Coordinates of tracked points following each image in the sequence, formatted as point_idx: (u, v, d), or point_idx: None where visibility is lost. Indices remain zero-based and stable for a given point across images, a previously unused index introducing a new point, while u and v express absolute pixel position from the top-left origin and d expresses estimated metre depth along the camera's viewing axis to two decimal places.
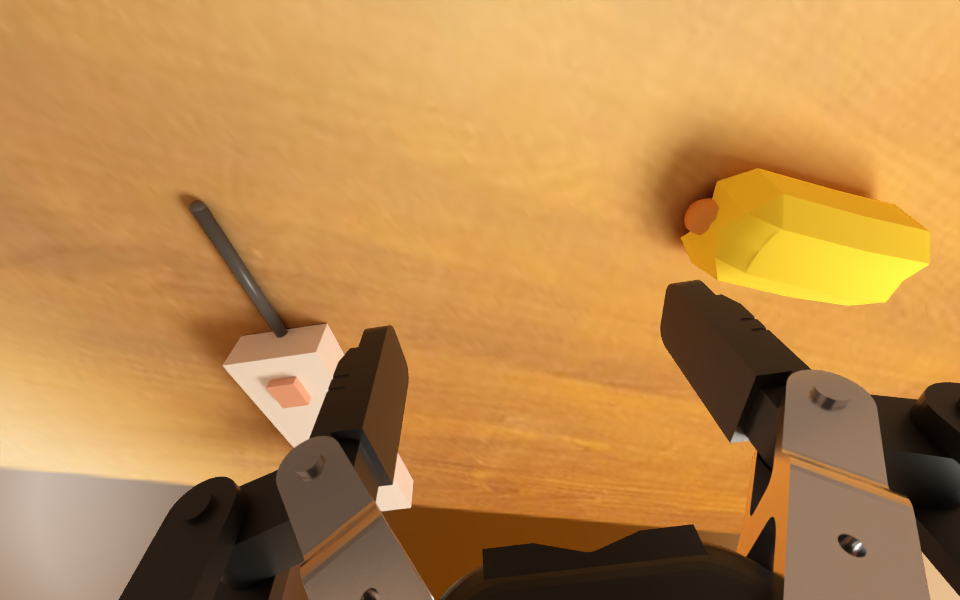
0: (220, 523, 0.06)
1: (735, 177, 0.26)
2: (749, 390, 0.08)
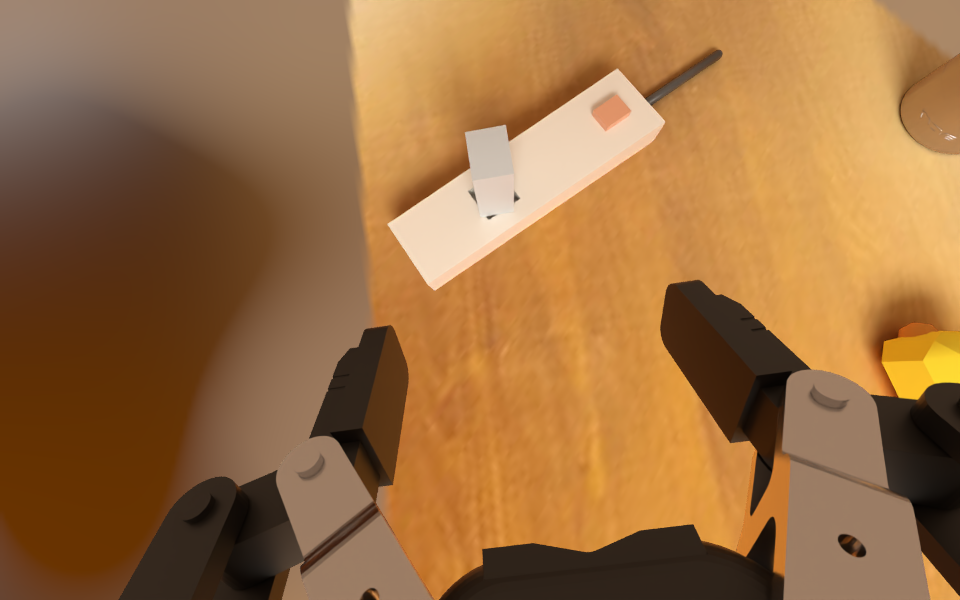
0: (220, 523, 0.06)
1: None
2: (749, 390, 0.08)
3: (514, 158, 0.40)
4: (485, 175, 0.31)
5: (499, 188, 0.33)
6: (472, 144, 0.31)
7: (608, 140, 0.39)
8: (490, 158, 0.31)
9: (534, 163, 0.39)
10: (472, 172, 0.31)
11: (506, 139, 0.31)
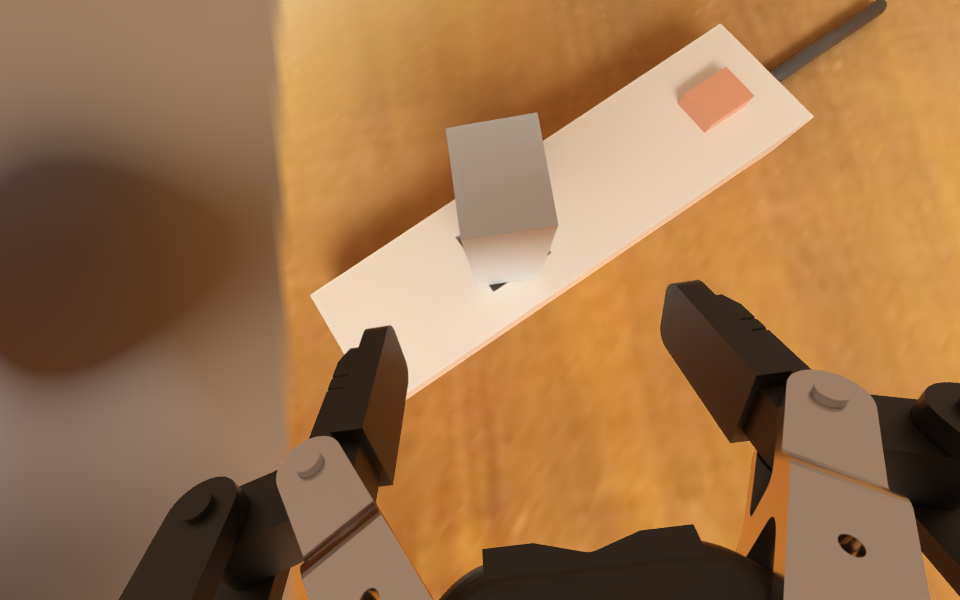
0: (220, 523, 0.06)
1: None
2: (749, 390, 0.08)
3: None
4: (490, 226, 0.13)
5: (520, 249, 0.15)
6: (463, 156, 0.14)
7: (710, 149, 0.22)
8: (504, 187, 0.14)
9: (576, 188, 0.22)
10: (461, 220, 0.13)
11: (539, 145, 0.14)
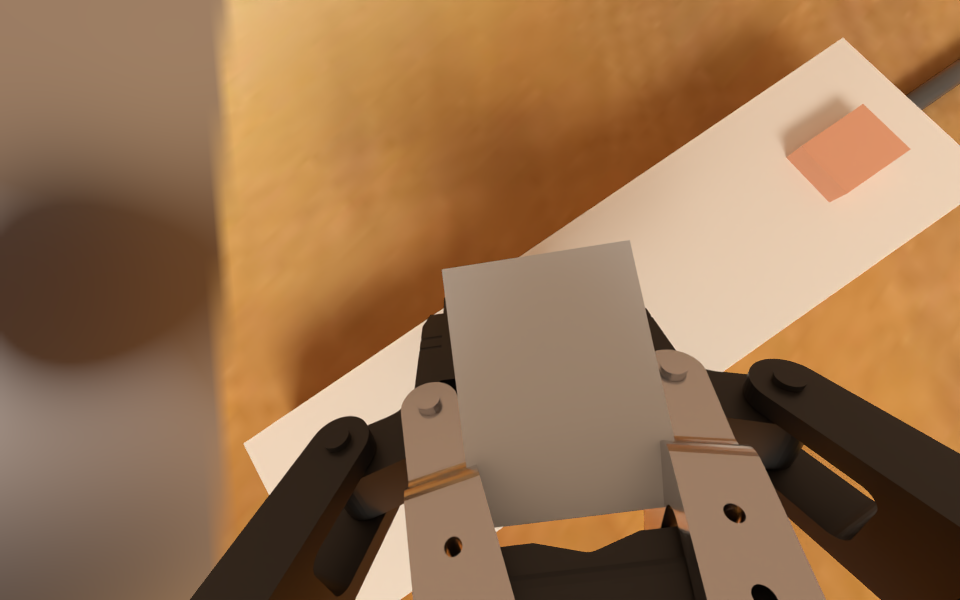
0: (361, 452, 0.07)
1: None
2: None
3: None
4: (538, 500, 0.06)
5: None
6: (477, 333, 0.07)
7: (839, 227, 0.14)
8: (565, 407, 0.06)
9: None
10: None
11: (637, 312, 0.07)
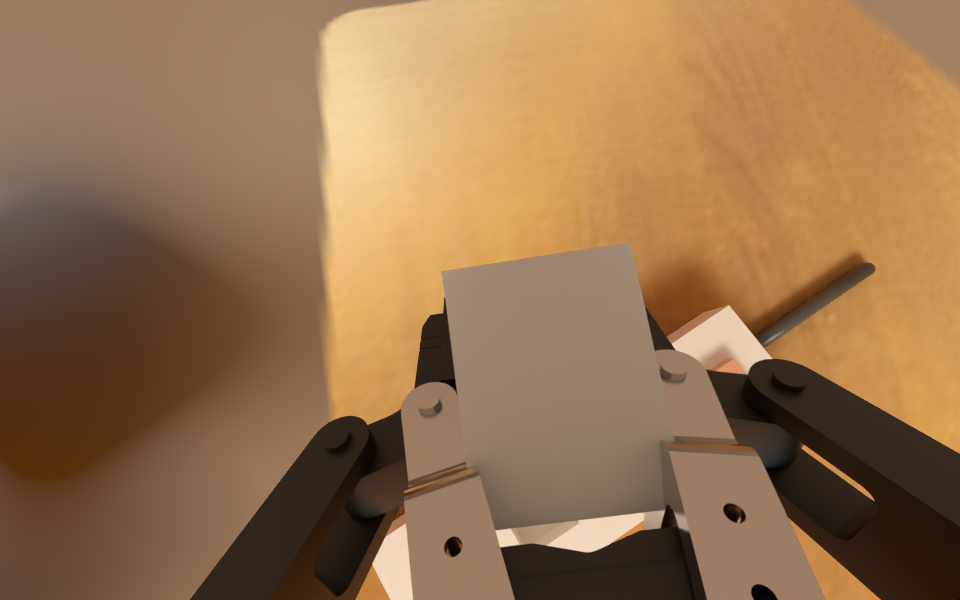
0: (361, 452, 0.07)
1: None
2: None
3: None
4: (538, 503, 0.06)
5: None
6: (477, 335, 0.07)
7: None
8: (566, 410, 0.06)
9: None
10: None
11: (637, 315, 0.07)
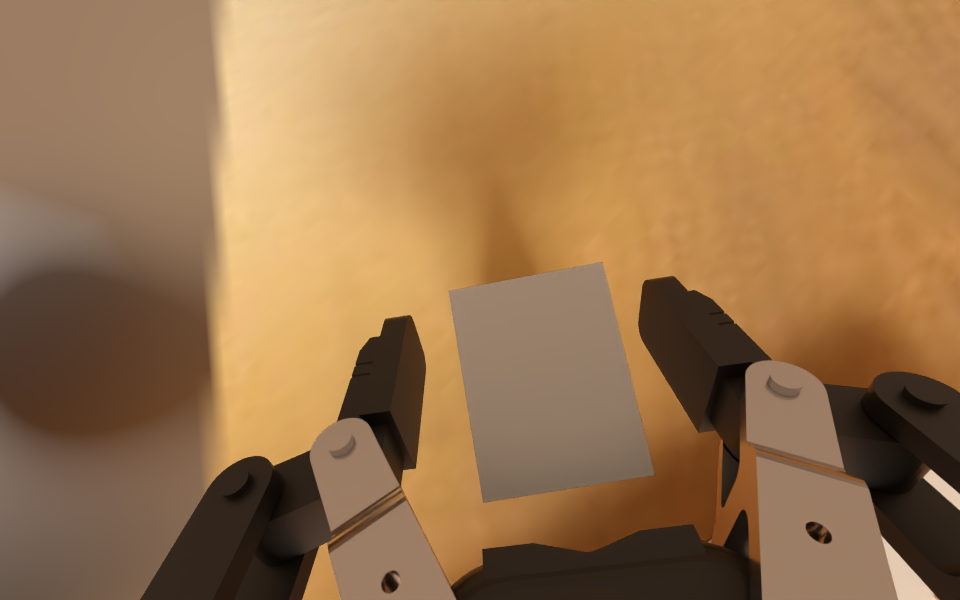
0: (259, 498, 0.07)
1: None
2: (713, 381, 0.08)
3: None
4: (534, 477, 0.08)
5: None
6: (480, 342, 0.08)
7: None
8: (553, 401, 0.08)
9: None
10: (482, 462, 0.08)
11: (610, 321, 0.08)
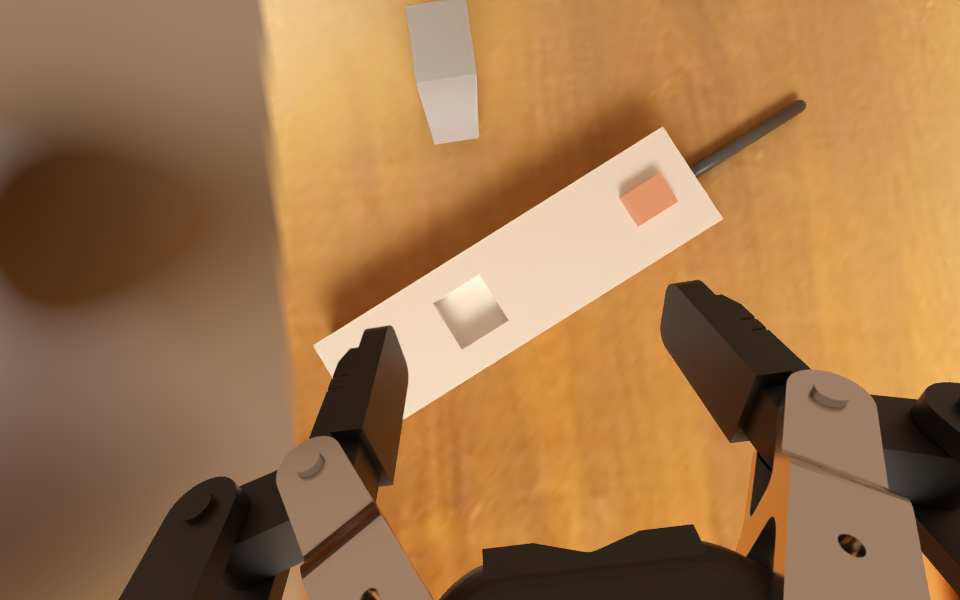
0: (220, 523, 0.06)
1: None
2: (749, 390, 0.08)
3: (503, 257, 0.27)
4: (434, 74, 0.21)
5: (457, 98, 0.23)
6: (416, 26, 0.21)
7: (640, 240, 0.27)
8: (443, 48, 0.21)
9: (531, 267, 0.27)
10: (416, 69, 0.21)
11: (466, 20, 0.21)
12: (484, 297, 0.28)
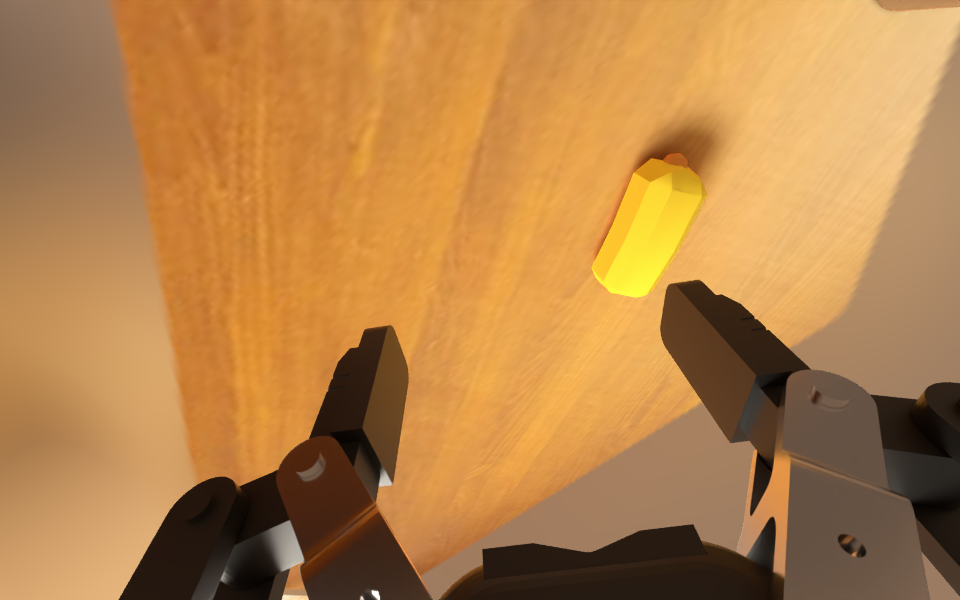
0: (220, 523, 0.06)
1: None
2: (749, 390, 0.08)
3: None
4: None
5: None
6: None
7: None
8: None
9: None
10: None
11: None
12: None
